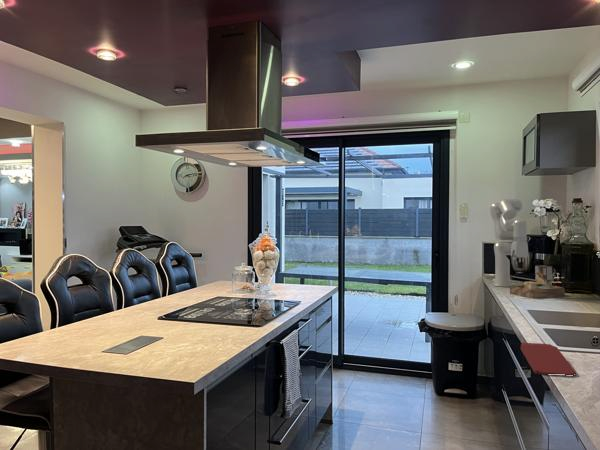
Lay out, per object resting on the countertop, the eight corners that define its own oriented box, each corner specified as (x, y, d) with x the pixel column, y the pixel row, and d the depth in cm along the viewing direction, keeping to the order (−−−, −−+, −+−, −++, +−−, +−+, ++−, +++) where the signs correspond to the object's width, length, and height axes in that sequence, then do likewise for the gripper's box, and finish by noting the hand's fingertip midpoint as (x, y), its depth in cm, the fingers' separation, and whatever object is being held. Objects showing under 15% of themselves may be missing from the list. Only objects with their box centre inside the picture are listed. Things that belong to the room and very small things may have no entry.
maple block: (524, 288, 296) (524, 281, 296) (530, 287, 298) (530, 281, 298) (530, 289, 292) (530, 283, 292) (536, 288, 293) (536, 282, 293)
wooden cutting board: (509, 293, 296) (509, 286, 296) (540, 291, 304) (540, 283, 304) (532, 298, 279) (532, 290, 279) (564, 295, 287) (564, 287, 287)
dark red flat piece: (576, 388, 147) (551, 353, 171) (577, 374, 146) (552, 341, 170) (535, 385, 149) (516, 352, 174) (536, 372, 149) (517, 339, 173)
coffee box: (553, 290, 307) (553, 266, 307) (547, 291, 305) (547, 267, 304) (541, 288, 316) (541, 265, 315) (534, 289, 313) (534, 265, 313)
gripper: (524, 239, 297) (524, 267, 297) (506, 239, 292) (506, 268, 292) (533, 239, 290) (533, 268, 290) (515, 240, 285) (515, 269, 285)
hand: (520, 268), depth 291 cm, fingers closed
